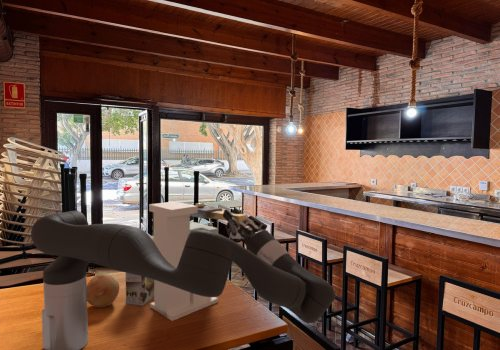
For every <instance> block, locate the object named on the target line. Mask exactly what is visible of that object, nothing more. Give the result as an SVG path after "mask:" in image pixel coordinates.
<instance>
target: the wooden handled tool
mask: <svg viewBox="0 0 500 350" xmlns="http://www.w3.org/2000/svg"><path fill="white" fill-rule="evenodd" d="M195 206H198V213H193V214H190V217H194V218H200V219H204V220H206V219H214V220H220V221H226V222H228V221H227V220H226V219H225V218H224V217H223V213H224V210H223V208H222V207H216V206H215V207H214V206H208V205H205V204H204V202H203V203H202V202H198V203H195ZM230 213H231V214H232V215H233V216H234V217H235V218H236V219H237V220H238V221H242V222H246V221H247V217H248V215H247V214H245V213H242V214H237V213H232V212H230Z"/></svg>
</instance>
